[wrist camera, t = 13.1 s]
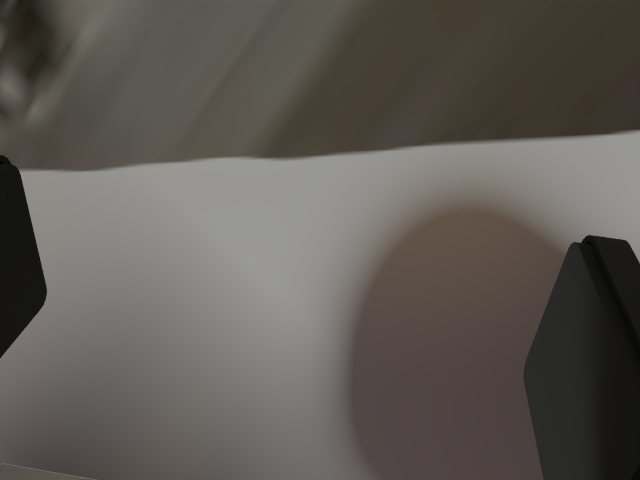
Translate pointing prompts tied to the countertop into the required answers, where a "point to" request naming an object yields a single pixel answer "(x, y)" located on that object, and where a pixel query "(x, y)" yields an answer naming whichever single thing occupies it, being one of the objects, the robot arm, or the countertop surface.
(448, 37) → the countertop surface
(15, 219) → the robot arm
